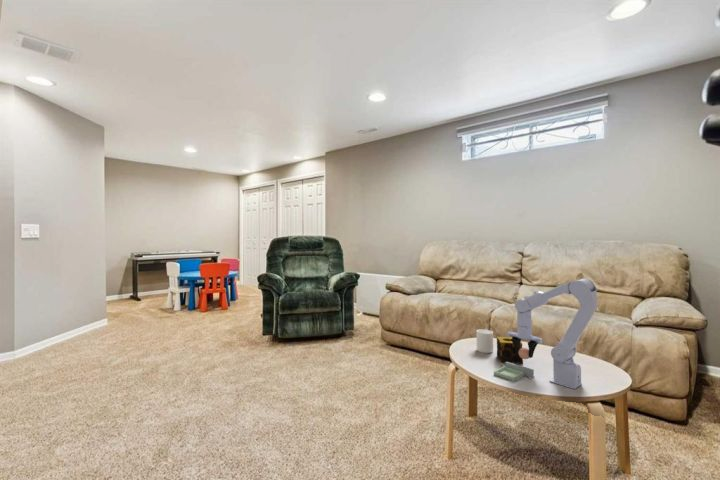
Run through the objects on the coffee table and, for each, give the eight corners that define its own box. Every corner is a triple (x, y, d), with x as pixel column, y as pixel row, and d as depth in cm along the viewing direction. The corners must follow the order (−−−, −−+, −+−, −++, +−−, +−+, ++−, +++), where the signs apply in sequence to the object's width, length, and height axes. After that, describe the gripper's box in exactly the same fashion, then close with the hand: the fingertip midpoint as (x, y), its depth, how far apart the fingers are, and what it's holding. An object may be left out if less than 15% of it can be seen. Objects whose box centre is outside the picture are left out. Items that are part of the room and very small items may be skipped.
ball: (532, 359, 152) (532, 348, 152) (527, 361, 149) (527, 350, 149) (521, 356, 156) (521, 345, 156) (516, 358, 153) (516, 347, 152)
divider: (534, 377, 145) (534, 369, 145) (531, 378, 144) (531, 370, 144) (507, 368, 154) (507, 361, 154) (504, 370, 153) (504, 362, 153)
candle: (523, 364, 160) (523, 343, 160) (500, 363, 162) (500, 342, 162) (517, 357, 170) (517, 337, 170) (496, 355, 172) (496, 336, 172)
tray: (524, 375, 147) (524, 372, 147) (514, 381, 141) (514, 377, 141) (504, 369, 154) (504, 366, 154) (493, 374, 148) (493, 371, 148)
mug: (485, 345, 188) (485, 327, 188) (499, 349, 181) (499, 330, 181) (473, 350, 180) (473, 331, 180) (488, 354, 174) (488, 334, 173)
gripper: (545, 327, 149) (545, 357, 149) (512, 321, 160) (513, 349, 160) (538, 329, 145) (538, 361, 145) (505, 323, 156) (505, 353, 156)
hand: (524, 355), depth 152 cm, fingers closed on ball, 5 cm apart
